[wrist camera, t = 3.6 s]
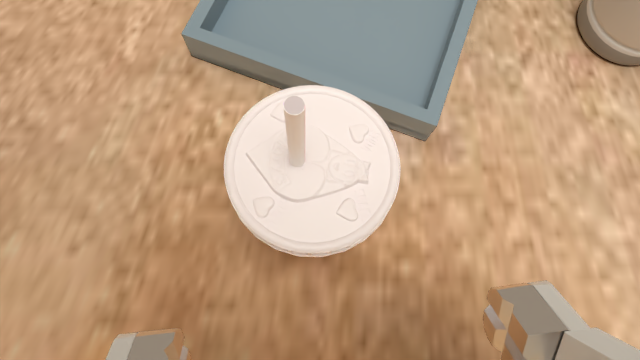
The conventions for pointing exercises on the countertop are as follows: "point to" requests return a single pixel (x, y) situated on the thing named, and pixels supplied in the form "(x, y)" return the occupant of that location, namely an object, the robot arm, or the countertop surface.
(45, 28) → the countertop surface
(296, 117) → the smoothie
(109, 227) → the countertop surface
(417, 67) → the tray
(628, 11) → the travel mug
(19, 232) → the countertop surface
